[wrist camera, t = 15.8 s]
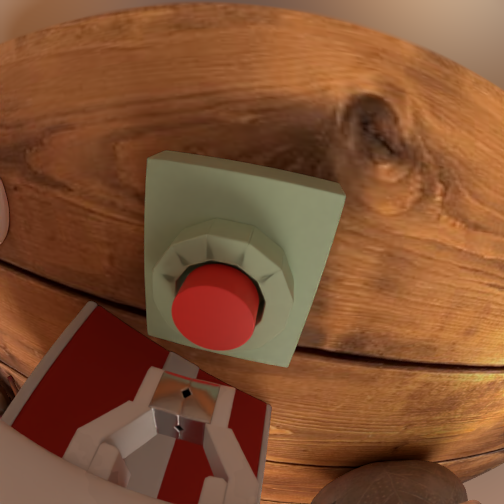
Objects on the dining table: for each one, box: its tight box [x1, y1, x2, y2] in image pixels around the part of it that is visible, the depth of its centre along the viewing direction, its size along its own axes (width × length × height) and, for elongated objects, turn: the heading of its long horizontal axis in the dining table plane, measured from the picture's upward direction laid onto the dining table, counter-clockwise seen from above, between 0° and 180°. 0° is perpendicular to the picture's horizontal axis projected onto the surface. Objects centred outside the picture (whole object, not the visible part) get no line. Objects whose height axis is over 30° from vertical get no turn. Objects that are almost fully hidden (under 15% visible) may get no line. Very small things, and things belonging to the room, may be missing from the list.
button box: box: [144, 150, 346, 367], centre depth 15 cm, size 11×9×4 cm
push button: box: [171, 264, 259, 351], centre depth 13 cm, size 4×4×2 cm
